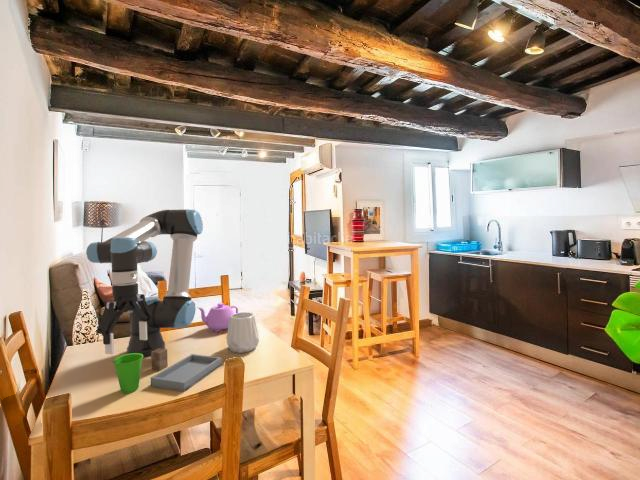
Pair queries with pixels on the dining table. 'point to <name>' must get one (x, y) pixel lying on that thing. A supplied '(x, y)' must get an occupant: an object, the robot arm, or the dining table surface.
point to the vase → (242, 333)
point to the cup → (128, 371)
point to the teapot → (218, 317)
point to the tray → (186, 372)
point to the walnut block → (159, 359)
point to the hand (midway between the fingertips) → (127, 346)
